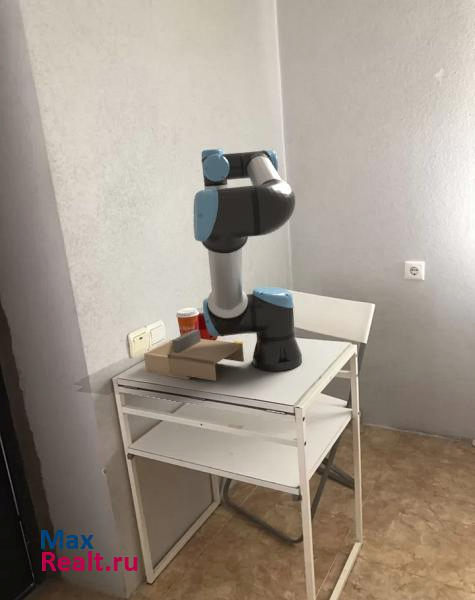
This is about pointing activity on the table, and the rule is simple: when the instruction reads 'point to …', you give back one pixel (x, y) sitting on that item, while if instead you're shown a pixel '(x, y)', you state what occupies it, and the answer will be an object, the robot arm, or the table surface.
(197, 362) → the box lid
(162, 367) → the box
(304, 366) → the table surface
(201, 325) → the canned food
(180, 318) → the paper cup
